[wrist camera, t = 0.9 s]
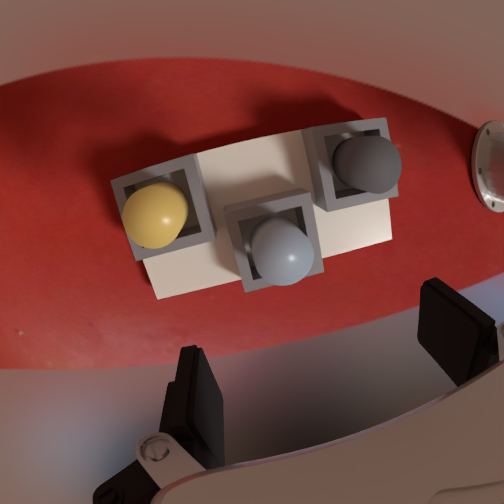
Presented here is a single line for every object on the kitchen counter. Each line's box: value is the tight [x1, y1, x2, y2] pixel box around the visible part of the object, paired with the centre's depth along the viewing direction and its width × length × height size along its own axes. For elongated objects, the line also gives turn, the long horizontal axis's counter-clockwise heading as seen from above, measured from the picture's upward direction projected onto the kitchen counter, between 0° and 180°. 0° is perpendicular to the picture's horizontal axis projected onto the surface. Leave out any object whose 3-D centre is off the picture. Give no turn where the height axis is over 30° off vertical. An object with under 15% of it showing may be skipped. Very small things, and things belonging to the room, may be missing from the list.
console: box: [110, 118, 398, 299], centre depth 25 cm, size 24×12×5 cm, turn 103°
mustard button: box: [123, 182, 189, 249], centre depth 21 cm, size 4×4×4 cm
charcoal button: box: [332, 136, 402, 194], centre depth 21 cm, size 4×4×4 cm
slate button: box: [250, 216, 314, 286], centre depth 22 cm, size 4×4×4 cm
